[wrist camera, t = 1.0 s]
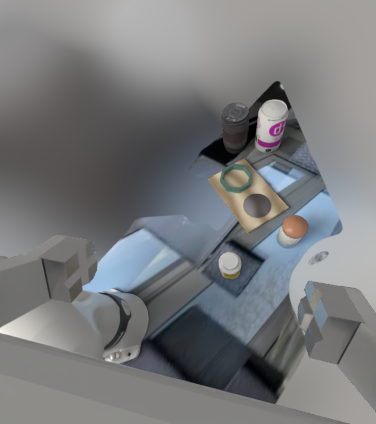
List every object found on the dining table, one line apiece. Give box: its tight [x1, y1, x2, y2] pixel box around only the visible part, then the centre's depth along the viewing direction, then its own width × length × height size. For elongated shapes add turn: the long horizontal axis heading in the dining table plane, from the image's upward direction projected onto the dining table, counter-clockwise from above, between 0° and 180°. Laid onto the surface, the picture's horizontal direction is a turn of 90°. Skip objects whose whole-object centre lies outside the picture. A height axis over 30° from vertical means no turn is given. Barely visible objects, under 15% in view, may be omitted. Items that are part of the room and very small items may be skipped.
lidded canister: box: [277, 215, 308, 248], centre depth 60 cm, size 6×6×10 cm
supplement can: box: [255, 100, 288, 153], centre depth 72 cm, size 8×8×15 cm
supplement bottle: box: [219, 252, 241, 279], centre depth 59 cm, size 6×6×10 cm
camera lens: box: [222, 103, 249, 154], centre depth 74 cm, size 8×8×15 cm
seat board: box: [208, 158, 289, 233], centre depth 71 cm, size 14×22×3 cm, turn 29°
